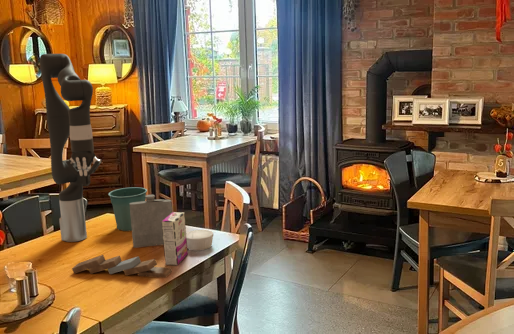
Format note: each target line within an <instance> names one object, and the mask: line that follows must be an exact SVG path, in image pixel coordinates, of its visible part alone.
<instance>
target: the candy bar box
mask: <svg viewBox="0 0 514 334" xmlns="http://www.w3.org/2000/svg"><path fill="white" fill-rule="evenodd" d="M162 231H163V241H164V245H163V249H164V262H165V263H164V264H165V265H166V266H179V265H180V263H182V261H183V260H184V259H185V258H186V257H187V256H188V254H189V252H188V248H187V239H186V233H187V230H186V217H185V212H179V211H178V212H177V211H172V213H171V214H170V215H169V216H168V217H166V218H165V219H164V220H163V221H162Z"/></svg>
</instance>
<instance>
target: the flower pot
mask: <svg viewBox="0 0 514 334" xmlns="http://www.w3.org/2000/svg"><path fill="white" fill-rule="evenodd" d="M147 192H148V189H147V188H145V187H135V186H134V187H132V186H131V187H123V188H118V189H114V190H112V191H110V192H108V196H109V198H110V203H111V204H112V210H113V213H114V214H113V216H114V219H115V224H116V228H117V230H118V231H123V232H132V227H131V215H130V203H133V202H141V201H146V198H145V196H146V195H147Z"/></svg>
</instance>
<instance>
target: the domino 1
mask: <svg viewBox="0 0 514 334" xmlns="http://www.w3.org/2000/svg"><path fill="white" fill-rule="evenodd" d="M105 260H106V258H105V256H104V254H101V255H98V256H95V257H93V258H89V259H87V260H84V261H81V262H78V263H77V264H75V266H73V267H72V268H71V270H72V271H73V274H78V273H81V272H84V271H86V270H89V269H90V268H92V267H95V266H98V265H100V264H101V263H102V262H103V261H105Z"/></svg>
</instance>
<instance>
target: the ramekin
mask: <svg viewBox="0 0 514 334" xmlns="http://www.w3.org/2000/svg"><path fill="white" fill-rule="evenodd" d="M213 237H214V232H213V231H212V230H209V229H196V230H190V231H188V232H187V231H186V239H187V250H191V251H194V252H195V251H196V252H197V251H199V252H200V251H205V249H206V250H208V249H210V248H211V247H212V245H213Z"/></svg>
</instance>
